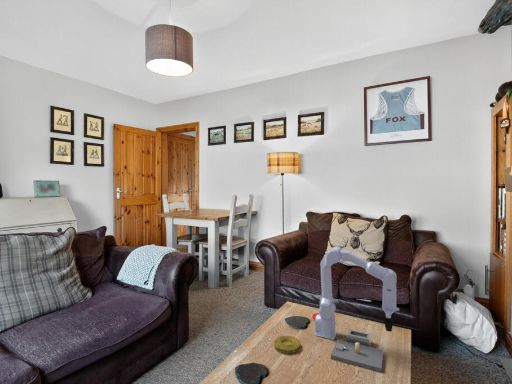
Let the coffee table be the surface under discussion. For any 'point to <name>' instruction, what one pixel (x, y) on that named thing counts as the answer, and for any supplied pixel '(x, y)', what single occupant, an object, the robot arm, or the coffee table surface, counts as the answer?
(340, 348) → the chain anchor
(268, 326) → the coffee table surface
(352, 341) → the steel link
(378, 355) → the board
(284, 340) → the olive flat disc
